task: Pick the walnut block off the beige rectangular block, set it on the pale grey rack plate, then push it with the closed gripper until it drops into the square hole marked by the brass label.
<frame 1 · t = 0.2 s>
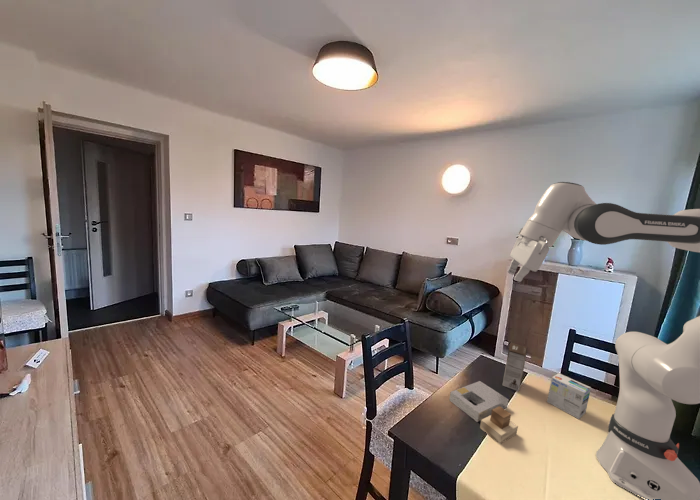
hand: (513, 276, 88), 51 cm above the table, tool tilted 20°, fingers open, 8 cm apart
light bulb box: (565, 408, 109), on the table
rack plate: (477, 404, 107), on the table
walnut block: (499, 422, 94), point 3 cm above the table, touching beige rectangular block
coffee box: (511, 384, 122), on the table
beige rectangular block: (497, 431, 94), on the table
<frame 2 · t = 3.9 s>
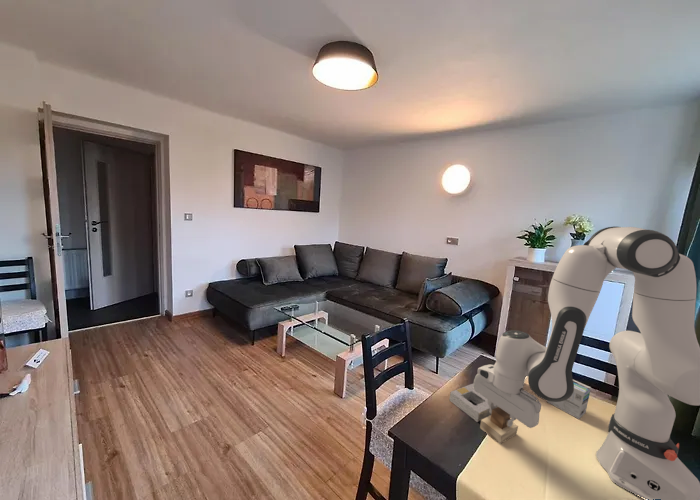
hand: (500, 419, 94), 4 cm above the table, tool pointing down, fingers closed on walnut block, 4 cm apart
walnut block: (499, 422, 94), point 3 cm above the table, touching gripper, beige rectangular block
everything else where it was.
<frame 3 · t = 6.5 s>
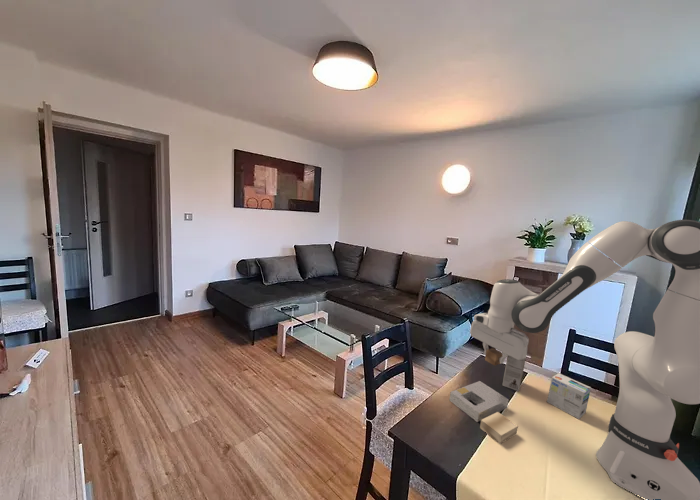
hand: (493, 358, 107), 17 cm above the table, tool pointing down, fingers closed on walnut block, 4 cm apart
walnut block: (492, 361, 107), point 16 cm above the table, touching gripper
everything else where it was.
when the fingers open (6 cm above the table, at t = 9.3 s): walnut block drops 1 cm, resting on rack plate.
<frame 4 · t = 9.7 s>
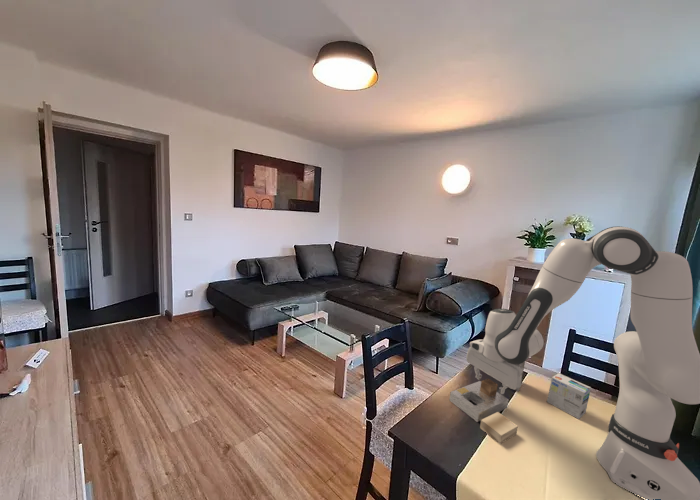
hand: (489, 385, 108), 6 cm above the table, tool pointing down, fingers open, 8 cm apart
walnut block: (487, 392, 109), point 3 cm above the table, touching rack plate
everything else where it was.
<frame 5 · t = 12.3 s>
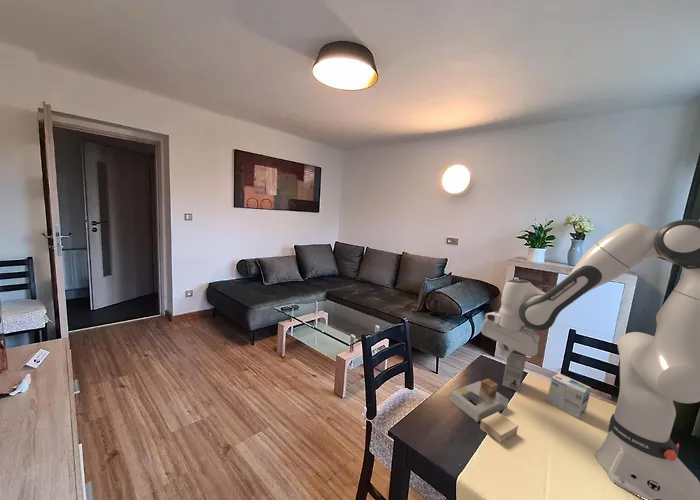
hand: (504, 355, 110), 17 cm above the table, tool pointing down, fingers closed
nothing on the table moved.
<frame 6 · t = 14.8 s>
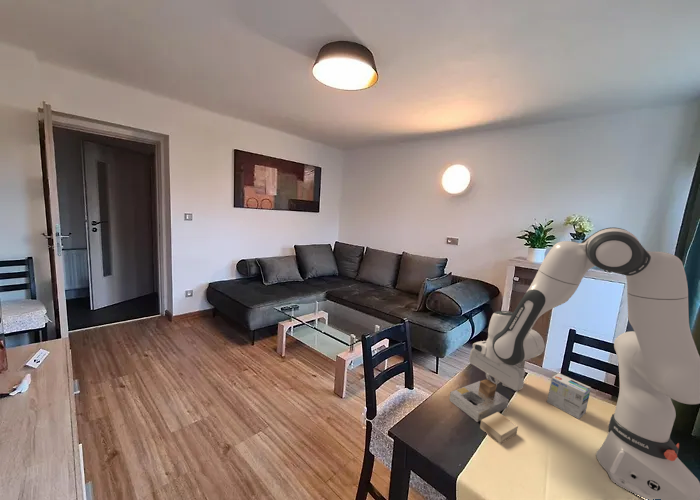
hand: (491, 386, 110), 5 cm above the table, tool pointing down, fingers closed, pressing on walnut block
walnut block: (486, 392, 109), point 4 cm above the table, touching gripper, rack plate
everything else where it was.
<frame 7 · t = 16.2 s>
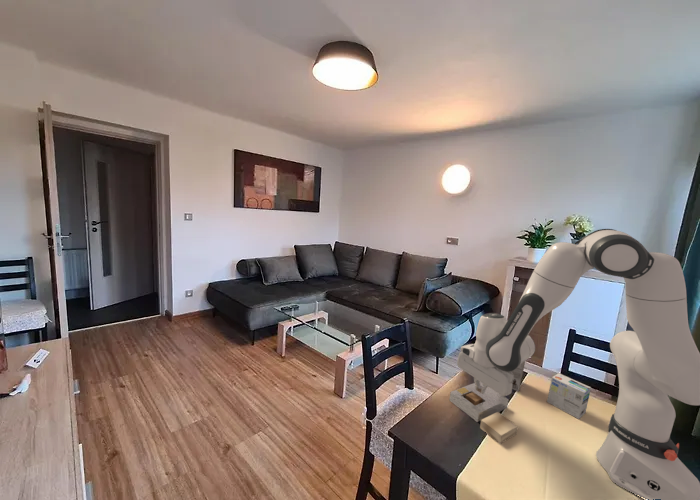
hand: (479, 391, 106), 5 cm above the table, tool pointing down, fingers closed
walnut block: (477, 400, 106), point 2 cm above the table, tilted 90°
everything else where it was.
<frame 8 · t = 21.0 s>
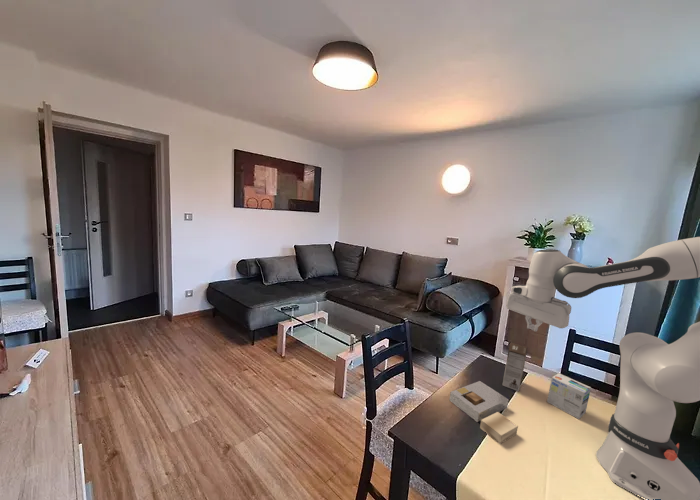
hand: (532, 329, 106), 29 cm above the table, tool pointing down, fingers closed
nothing on the table moved.
at the end: walnut block inside the target area on the rack plate (2.6 cm from its centre), point 1.9 cm above the rack plate's base; the gripper is holding nothing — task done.
